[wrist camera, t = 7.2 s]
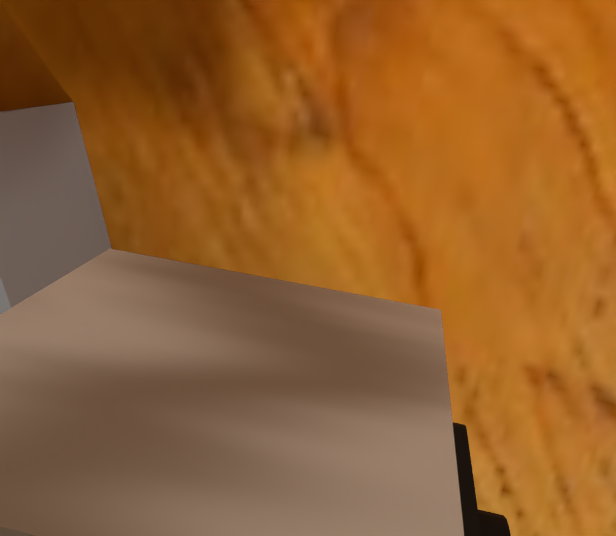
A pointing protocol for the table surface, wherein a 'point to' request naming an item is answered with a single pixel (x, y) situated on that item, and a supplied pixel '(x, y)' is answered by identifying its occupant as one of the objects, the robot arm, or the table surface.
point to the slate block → (45, 201)
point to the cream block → (221, 408)
